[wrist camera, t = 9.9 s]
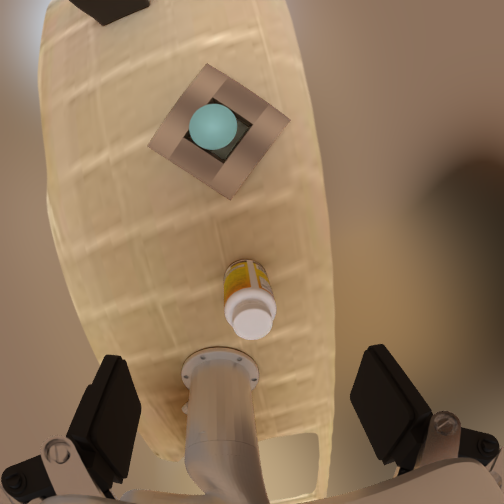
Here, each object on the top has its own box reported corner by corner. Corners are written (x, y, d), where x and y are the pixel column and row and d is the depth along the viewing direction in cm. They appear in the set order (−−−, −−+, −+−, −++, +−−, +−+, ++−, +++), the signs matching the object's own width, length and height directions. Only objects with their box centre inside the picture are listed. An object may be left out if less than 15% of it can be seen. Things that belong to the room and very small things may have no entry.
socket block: (229, 191, 32) (230, 200, 27) (158, 145, 29) (146, 146, 24) (281, 122, 29) (290, 119, 25) (209, 74, 27) (206, 63, 22)
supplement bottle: (219, 291, 37) (218, 341, 27) (230, 253, 35) (232, 296, 26) (259, 299, 38) (270, 349, 29) (272, 263, 36) (288, 307, 27)
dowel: (212, 151, 30) (204, 158, 19) (197, 127, 29) (180, 119, 18) (239, 137, 30) (245, 134, 19) (224, 111, 28) (222, 95, 17)
